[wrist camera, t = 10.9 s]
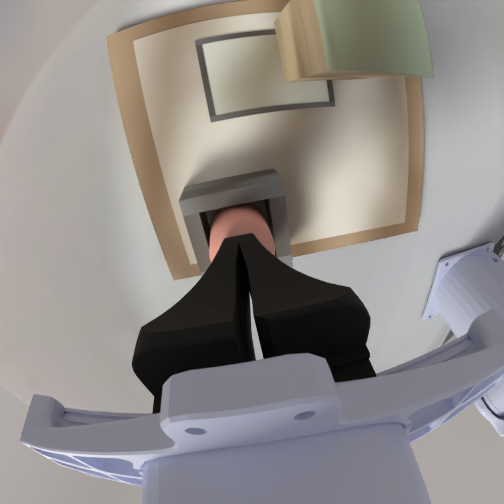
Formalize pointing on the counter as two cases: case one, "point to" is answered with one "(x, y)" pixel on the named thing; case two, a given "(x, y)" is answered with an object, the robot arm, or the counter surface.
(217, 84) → the brown framed board
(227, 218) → the button
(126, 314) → the counter surface
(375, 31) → the green topped wooden block
